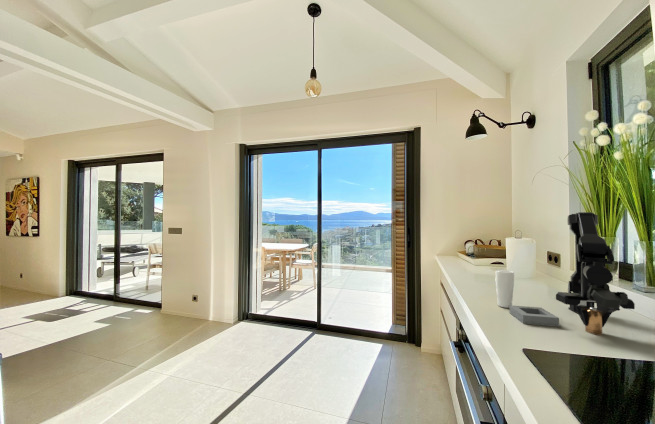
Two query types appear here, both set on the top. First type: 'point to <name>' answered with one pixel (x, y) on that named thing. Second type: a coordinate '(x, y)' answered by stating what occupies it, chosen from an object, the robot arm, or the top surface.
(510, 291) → the drinking glass
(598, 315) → the battery cell
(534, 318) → the gray cradle
